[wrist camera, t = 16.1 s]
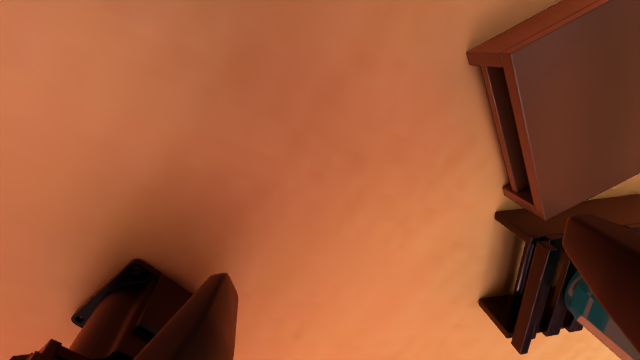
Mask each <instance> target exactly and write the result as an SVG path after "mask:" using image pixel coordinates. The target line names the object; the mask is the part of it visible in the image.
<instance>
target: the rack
mask: <svg viewBox="0 0 640 360" xmlns="http://www.w3.org/2000/svg"><path fill="white" fill-rule="evenodd" d="M580 214H591V215H594V216H597V217H599V218H602V219H605V220H608V221H611V222H614V223H616V224H619V225H622V226H625V227H628V228H631V229H634V230H636V231H639V232H640V194H638V195H630V196H622V197H614V198H605V199H597V200H589V201H584V202H582V203H580V204H578V205H576V206H574V207H572V208H570V209H568V210H566V211H564V212H562V213H560V214H558V215H556V216H554V217H552V218H550V219H548V220H543V219H542V218H540V217H539V216H537V215H535V214H533V213H532V212H530V211H528V210H527V209H517V210H509V211H501V212H496V214H495V219H496V220H497V221H498V222H500V223H501V224H502V225H504V226H505V227H506V228H508V229H509V230H510V231H512V232H513V233H514V234H516V235H517V236H519V237H520V238H521V239H523V240H524V241H525V247H524V251H523V255H522V259H521V263H520V267H519V271H518V276H517V280H516V284H515V288H514V292H513V294H508V295H502V296H496V297H489V298H483V299H479V303H478V304H479V306H480V307H481V308H482V309H483V310H484V312H485V313H486V314H487V315H488V316H489V318H490V319H491V320H492V321H493V322H494V324H495V325H496V326H497V327H498V328H499V330H500V331H501V332H502V333H503V334H504V336H505V337H506V338H512V341H511V344H512V345H513V346H514V348H515V349H516V350H517V351H518V353H519V354H526V353H528V349H529V346H530V342H531V339H535V337H536V333H540V332H542V333H543V334H544V335H545V336H546V337H547V336H552V335H558V334H559V332H560V329H563V328H566V330H567V331H569V332H574V331H580V330H582V328H583V325H581V324H580V323H579V322H578V321H577V320H576V319H575V317H574V316H573V315H572V314H571V313H570V312H569V311H568V310H567V308H566V306H565V302H564V295H565V290H566V287H567V285H568V283H569V281H570V279H571V278H572V276H573V275H574V273H575V272H576V271H577V269H576V267H575V265H574V264H573V262H572V261H571V259H570V258H569V256H568V255H567V253H566V256H565V259H564V263H563V266H562V269H561V273H560V276H559V279H558V282H557V286H556V287H552V288H550V286H551V283H552V279H553V276H554V273H555V269H556V266H557V263H558V259H559V256H560V252H561V249H562V246H563V244H562V239H563V235H564V230H565V226H566V222H567V219H568V218H569V217H570V216H574V215H580Z"/></svg>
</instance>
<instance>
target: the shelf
mask: <svg viewBox="0 0 640 360" xmlns="http://www.w3.org/2000/svg"><path fill="white" fill-rule="evenodd" d="M467 57H468V60H469V64H470V65H480V66H481V69H482V73H483V77H484V80H485V84H486V88H487V92H488V96H489V100H490V104H491V108H492V112H493V116H494V120H495V124H496V128H497V132H498V136H499V140H500V144H501V148H502V152H503V156H504V160H505V164H506V168H507V172H508V176H509V179H510V184H508V185H506V186H504V187H503V191H504V195H505V196H506V197H508V198H509V199H511V200H512V201H514V202H516V203H517V204H519V205H520V206H522V207H524V208H525V209H527V210H528V211H530V212H532V213H533V214H535V215H537V216H539V217H540V218H542V219H543V220H548V219H550V218H552V217H554V216H556V215H558V214H560V213H562V212H564V211H566V210H568V209H570V208H572V207H574V206H576V205H578V204H580V203H582V202H584V201H586V200H588V199H590V198H592V197H593V196H595V195H597V194H599V193H601V192H603V191H605V190H607V189H609V188H611V187H613V186H615V185H617V184H619V183H621V182H623V181H625V180H627V179H629V178H631V177H633V176H635V175H637V174H639V173H640V0H563V1H561V2H559V3H558V4H556V5H554V6H552V7H550V8H548V9H546V10H545V11H543V12H541V13H539V14H537V15H535V16H533V17H531V18H530V19H528V20H526V21H524V22H522V23H520V24H518V25H517V26H515V27H513V28H511V29H509V30H507V31H505V32H504V33H502V34H500V35H498V36H496V37H494V38H492V39H490V40H489V41H487V42H485V43H483V44H481V45H479V46H477V47H476V48H474V49H472V50H470V51H468V52H467Z"/></svg>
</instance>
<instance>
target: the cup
mask: <svg viewBox="0 0 640 360" xmlns="http://www.w3.org/2000/svg"><path fill="white" fill-rule="evenodd" d="M564 302H565V306H566V308H567V310H568V311H569V312H570V313H571V314H572V315H573V316H574V317H575V319H576V320H577V321H578V322H579V323H580V324H581V325H583V326H584V327H585V328H586V329H587V330H588V331H589V332H591V333H592V334H593V335H594V336H595V337H596V338H597V339H599V340H600V341H601V342H602V343H603V344H604V345H605V346H607V347H608V348H609V349H610V350H611V351H612V352H613V353H615V354H616V355H617V356H618V357H619V358H620V359H621V360H640V354H639V353H638V351H637V350H636V349H635V348H634V346H633V345H632V344H631V343H630V341H629V340H628V339H627V338H626V336H625V335H624V334H623V333H622V331H621V330H620V329H619V328H618V326H617V325H616V324H615V323H614V321H613V320H612V319H611V318H610V316H609V315H608V314H607V313H606V311H605V310H604V309H603V307H602V306H601V305H600V303H599V302H598V300H597V299H596V298H595V296H594V295H593V293H592V292H591V290H590V289H589V287H588V285H587V284H586V282H585V281H584V279H583V278H582V276H581V275H580V273H579V272H578V270H577V271H576V272H575V273H574V275H573V276H572V278H571V279H570V281H569V283H568V285H567V287H566V290H565V295H564Z"/></svg>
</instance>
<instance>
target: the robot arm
mask: <svg viewBox="0 0 640 360" xmlns="http://www.w3.org/2000/svg"><path fill="white" fill-rule="evenodd" d="M562 244H563V248H564V250H565V252H566V253H567V255H568V256H569V258H570V259H571V261H572V262H573V264H574V265H575V267H576V269H577V270H578V272H579V273H580V275H581V276H582V278H583V279H584V281H585V282H586V284H587V285H588V287H589V289H590V290H591V292H592V293H593V295H594V296H595V298H596V299H597V300H598V302H599V303H600V305H601V306H602V307H603V309H604V310H605V311H606V313H607V314H608V315H609V316H610V318H611V319H612V320H613V321H614V323H615V324H616V325H617V326H618V328H619V329H620V330H621V331H622V333H623V334H624V335H625V336H626V338H627V339H628V340H629V341H630V343H631V344H632V345H633V346H634V348H635V349H636V350H637V351H638V353H639V354H640V232H639V231H636V230H634V229H631V228H628V227H625V226H622V225H619V224H616V223H614V222H611V221H608V220H605V219H602V218H599V217H597V216H594V215H591V214H580V215H574V216H570V217H569V218H568V219H567V222H566V226H565V230H564V235H563V239H562ZM134 266H137V267H139V269H136V268H134ZM237 309H238V295H237V291H236V289H235V287H234V285H233V283H232V281H231V279H230V277H229V275H228V274H227V273H220V274H214V275H212V276H210V277H209V278H208V279H207V280H206V282H205V283H204V284H203V285H202V286H201V287H200V288H199V289H198V290H197V291H196V292H195V293H194V294H192V293H191V292H189V291H188V290H186V289H185V288H183V287H182V286H180V285H178V284H177V283H175V282H174V281H172V280H171V279H169V278H168V277H166V276H165V275H163V274H162V273H160V272H159V271H157V270H156V269H154V268H153V267H151V266H150V265H148V264H147V263H145V262H144V261H142V260H140V259H135V260H132V261H131V262H130V263H128V264H127V265H126V266H125V267H124V268H123V269H122V270H121V271H120V272H119V273H117V274H116V275H115V276H114V277H113V278H112V279H111V280H110V281H109V282H108V283H107V284H105V285H104V286H103V287H102V288H101V289H100V290H99V291H98V292H97V293H96V294H95V295H93V296H92V297H91V298H90V299H89V300H88V301H87V302H86V303H85V304H84V305H83V306H81V307H80V308H79V309H78V310H77V311H76V312H75V314H74V315H73V316H72V318H71V320H72V322H73V323H74V324H76V325H77V326H79V327H81V328H82V330H81V331H80V333H79V334H78V336H77V337H76V339H75V340H74V342H73V343H72V345H71V346H70V348H69V349H68V348H65V347H63V346H61V345H62V343H60V342H58V341H55V340H53V339H50V340H49V341H48V342H47V343H46V344H45V346H44V347H43V348H42V349H41V350H40V351H39V352H38V351H35V352H34V353H31V354H28V355H19V356H13V357H12V358H11V359H10V360H233V356H234V347H235V334H236V322H237ZM81 317H82V318H81Z"/></svg>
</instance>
